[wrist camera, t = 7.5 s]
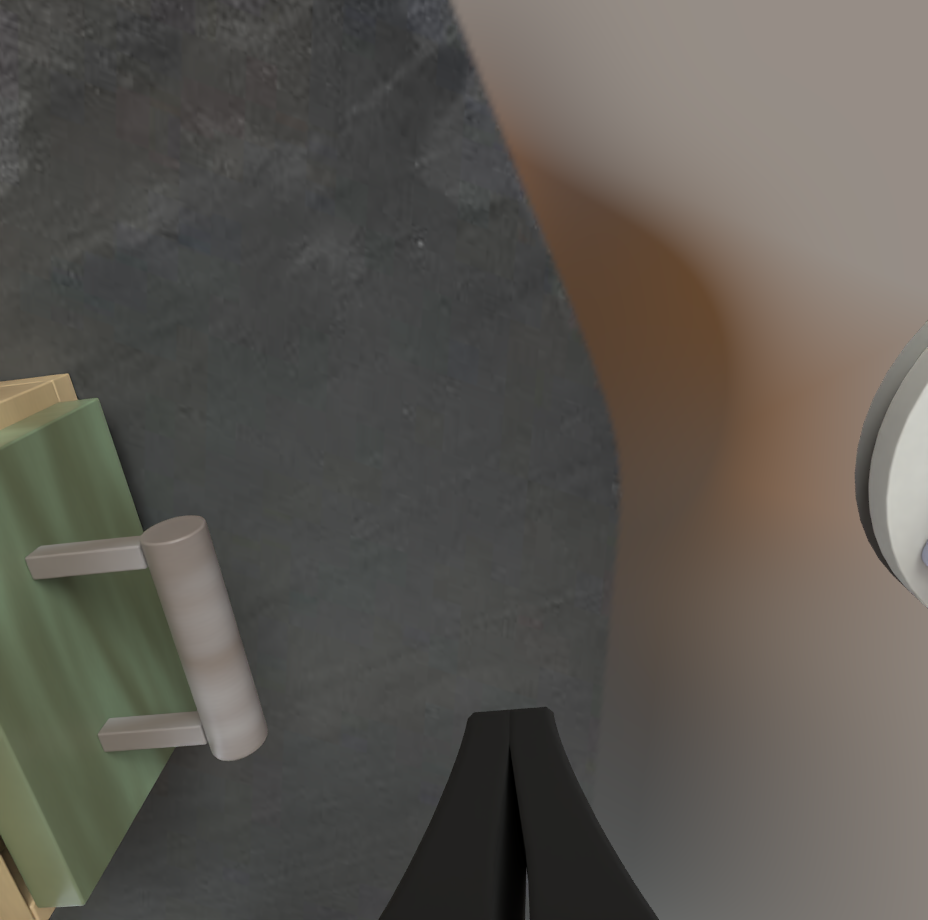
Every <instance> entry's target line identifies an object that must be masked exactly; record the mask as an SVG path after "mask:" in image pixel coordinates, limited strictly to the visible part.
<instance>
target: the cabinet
mask: <svg viewBox="0 0 928 920" xmlns="http://www.w3.org/2000/svg"><path fill="white" fill-rule="evenodd" d="M75 400H78V399H77V396H76V393H75V390H74V387H73V384H72V381H71V379H70V376H69V374H67V373H66V374H58V375H50V376H42V377H34V378H26V379H18V380H10V381H3V382H0V430H2V429H4V428H6V427H8V426H10V425H12V424H14V423H16V422H18V421H21V420H23V419H25V418H27V417H29V416H31V415H33V414H35V413H37V412H39V411H42V410H44V409H46V408H48V407H50V406H52V405H54V404H56V403H59V402H67V401H75ZM55 908H56V907H48V908H38V907H37V906H36V904H35V902H34V900H33V898H32V896H31V894H30V892H29V890H28V888H27V886H26V884H25V882H24V880H23V878H22V876H21V874H20V873H19V871H18V869H17V867H16V865H15V863H14V861H13V859H12V857H11V855H10V853H9V851H8V849H7V847H5V848H4V850H3V851H2V852H1V853H0V920H49V918H50V916H51V915H52V913H53V911H54V910H55Z"/></svg>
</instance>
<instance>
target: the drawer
mask: <svg viewBox="0 0 928 920" xmlns="http://www.w3.org/2000/svg"><path fill="white" fill-rule="evenodd" d="M267 734H268V727H267V724H266V720H265V717H264V714H263V710H262V707H261V704H260V700H259V697H258V693H257V690H256V687H255V683H254V680H253V677H252V673H251V670H250V667H249V663H248V660H247V657H246V653H245V650H244V646H243V643H242V640H241V636H240V633H239V630H238V626H237V623H236V620H235V616H234V613H233V609H232V606H231V603H230V599H229V596H228V593H227V589H226V586H225V583H224V579H223V576H222V573H221V569H220V566H219V562H218V559H217V556H216V552H215V549H214V546H213V542H212V539H211V536H210V532H209V529H208V526H207V522H206V520H205V519H204V518H203V517H201V516H196V515H188V516H180V517H175V518H171V519H168V520H165V521H162V522H160V523H158V524H156V525H154V526H152V527H150V528H148V529H147V530H146V531H145V532H143V529H142V526H141V523H140V520H139V517H138V514H137V511H136V508H135V505H134V502H133V499H132V496H131V493H130V490H129V487H128V484H127V481H126V478H125V476H124V473H123V470H122V467H121V464H120V461H119V458H118V455H117V452H116V449H115V446H114V443H113V440H112V437H111V434H110V431H109V428H108V425H107V422H106V419H105V416H104V413H103V410H102V407H101V404H100V401H99V399H98V398H91V399H83V400H75V401H67V402H59V403H56V404H54V405H52V406H50V407H48V408H46V409H44V410H42V411H39V412H37V413H35V414H33V415H31V416H29V417H27V418H25V419H23V420H21V421H18V422H16V423H14V424H12V425H10V426H8V427H6V428H4V429H2V430H0V853H1V852H2V851H3V850H4V848H5V847H7V849H8V851H9V853H10V855H11V857H12V859H13V861H14V863H15V865H16V867H17V869H18V871H19V873H20V874H21V876H22V878H23V880H24V882H25V884H26V886H27V888H28V890H29V892H30V894H31V896H32V898H33V900H34V902H35V904H36V906H37V907H38V908H48V907H66V906H83V905H85V904H86V902H87V900H88V899H89V897H90V895H91V893H92V892H93V890H94V888H95V887H96V885H97V883H98V881H99V880H100V878H101V876H102V874H103V873H104V871H105V869H106V867H107V866H108V864H109V862H110V860H111V859H112V857H113V855H114V853H115V852H116V850H117V848H118V847H119V845H120V843H121V841H122V840H123V838H124V836H125V834H126V833H127V831H128V829H129V827H130V826H131V824H132V822H133V820H134V819H135V817H136V815H137V814H138V812H139V810H140V808H141V807H142V805H143V803H144V801H145V800H146V798H147V796H148V794H149V793H150V791H151V789H152V787H153V786H154V784H155V782H156V780H157V779H158V777H159V775H160V774H161V772H162V770H163V768H164V767H165V765H166V763H167V761H168V760H169V758H170V756H171V754H172V753H173V751H174V749H175V747H179V746H192V745H205V744H207V742H208V743H209V746H210V749H211V752H212V754H213V755H214V756H215V757H216V758H218V759H220V760H223V761H234V760H238V759H241V758H244V757H246V756H248V755H250V754H252V753H253V752H255V751H256V750H257V749H258V748H259V747H260V746H261V745H262V744H263V743H264V741H265V739H266V737H267Z"/></svg>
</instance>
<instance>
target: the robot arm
mask: <svg viewBox="0 0 928 920" xmlns="http://www.w3.org/2000/svg"><path fill="white" fill-rule="evenodd" d="M921 556H922V561H923V562H924V563H925V565H926V566H928V541H927V543H926V545H925V546H924V548H923V551H922V555H921ZM526 867H527V874H528V881H529V907H530V920H659V919H658V917H657V916H656V915H655V913H654V912H653V910H652V909H651V907H650V906H649V904H648V903H647V901H646V900H645V899H644V897H643V896H642V894H641V892H640V891H639V889H638V888H637V886H636V885H635V883H634V882H633V880H632V879H631V877H630V875H629V874H628V872H627V870H626V869H625V867H624V865H623V864H622V862H621V860H620V859H619V857H618V855H617V854H616V852H615V850H614V849H613V847H612V846H611V844H610V842H609V840H608V838H607V837H606V835H605V833H604V831H603V829H602V828H601V826H600V824H599V822H598V820H597V818H596V817H595V815H594V813H593V811H592V809H591V807H590V805H589V803H588V801H587V799H586V797H585V795H584V793H583V791H582V789H581V787H580V785H579V783H578V781H577V779H576V776H575V774H574V772H573V770H572V767H571V765H570V763H569V760H568V758H567V755H566V753H565V750H564V748H563V745H562V742H561V740H560V737H559V734H558V730H557V727H556V723H555V719H554V713H553V712H552V711H551V710H550V709H548V708H547V707H540V708H527V709H514V710H501V711H488V712H475V713H473V714H472V715H471V716H470V717H469V718H468V721H467V725H466V729H465V733H464V736H463V740H462V743H461V746H460V749H459V752H458V755H457V758H456V761H455V763H454V766H453V769H452V772H451V774H450V777H449V780H448V782H447V784H446V787H445V789H444V791H443V794H442V796H441V798H440V801H439V803H438V806H437V808H436V810H435V813H434V815H433V817H432V820H431V822H430V824H429V826H428V828H427V830H426V832H425V834H424V836H423V838H422V840H421V842H420V844H419V846H418V848H417V850H416V852H415V854H414V856H413V858H412V860H411V862H410V864H409V866H408V868H407V870H406V872H405V874H404V876H403V878H402V880H401V881H400V883H399V885H398V887H397V889H396V891H395V892H394V894H393V896H392V898H391V899H390V901H389V903H388V905H387V906H386V908H385V910H384V911H383V913H382V915H381V916H380V918H379V920H525V899H526Z"/></svg>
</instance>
